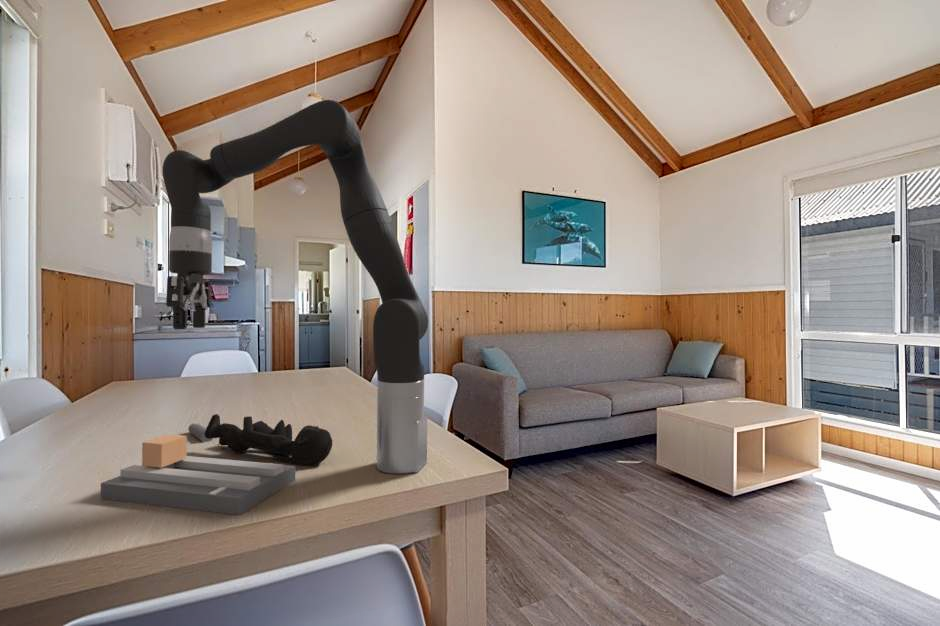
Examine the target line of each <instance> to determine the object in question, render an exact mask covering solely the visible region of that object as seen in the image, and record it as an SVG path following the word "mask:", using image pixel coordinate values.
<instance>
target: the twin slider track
mask: <svg viewBox="0 0 940 626" xmlns="http://www.w3.org/2000/svg"><path fill="white" fill-rule="evenodd" d="M119 472H120V474H119V476H115V477H113V478H111V479H108V480H106V481H102V482H101V483H100V499H101V498H102V500H111V501H119V502H127V503H128V502H129V503H136V504H144V505H153V506H162V507H168V508H169V507H170V508H178V509H187V510H193V511H195V510H196V511H201V512H202V511H203V512H211V513H213V512H214V513H221V514H228V515H236V516H237V515H238V516H240V515H242V514H243V513H245V512H246V511H248V510H250V509H251V508H252V507H255V506H256V505H257V504H259V503H261V502H262V501H263V500H265V499H268V498H269V497H270V496H272V495H273V494H276V493H277V492H278V491H280V490H282V489H283V488H285V487H286V486H288V485H289V484H291V483H293V482H294V481H296V465H287V464H282V463H281V464H280V463H271V462H259V461H247V460H234V459H226V458H213V457H203V456H201V457H200V456H191V455H187V458H185V459H183V460H180V461H178V462H175V467H174V468H171V469H170V468H160V467H149V466H142V465H140V464H139V465H138V464H133V465H130V466H128V467H125V468H122V469H120V471H119Z"/></svg>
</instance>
